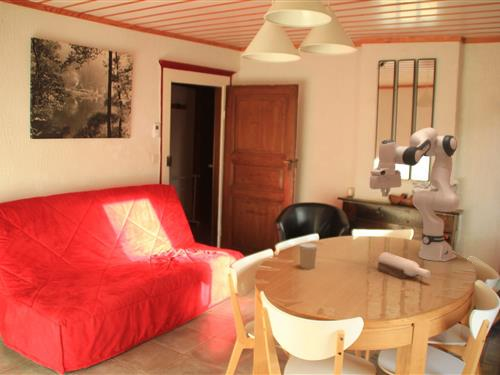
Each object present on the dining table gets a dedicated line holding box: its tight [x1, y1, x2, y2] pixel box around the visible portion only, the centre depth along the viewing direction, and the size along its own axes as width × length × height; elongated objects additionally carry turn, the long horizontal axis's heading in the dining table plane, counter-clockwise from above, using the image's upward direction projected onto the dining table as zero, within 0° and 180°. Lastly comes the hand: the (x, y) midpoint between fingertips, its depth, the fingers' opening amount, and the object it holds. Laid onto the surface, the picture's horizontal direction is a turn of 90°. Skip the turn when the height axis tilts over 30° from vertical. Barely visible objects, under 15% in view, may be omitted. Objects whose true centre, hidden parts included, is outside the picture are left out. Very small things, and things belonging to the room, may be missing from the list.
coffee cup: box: [299, 242, 318, 270], centre depth 274 cm, size 9×9×12 cm
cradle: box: [377, 261, 421, 280], centre depth 266 cm, size 14×16×4 cm
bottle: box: [378, 251, 432, 279], centre depth 261 cm, size 8×8×30 cm
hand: (385, 196), depth 272 cm, fingers closed
